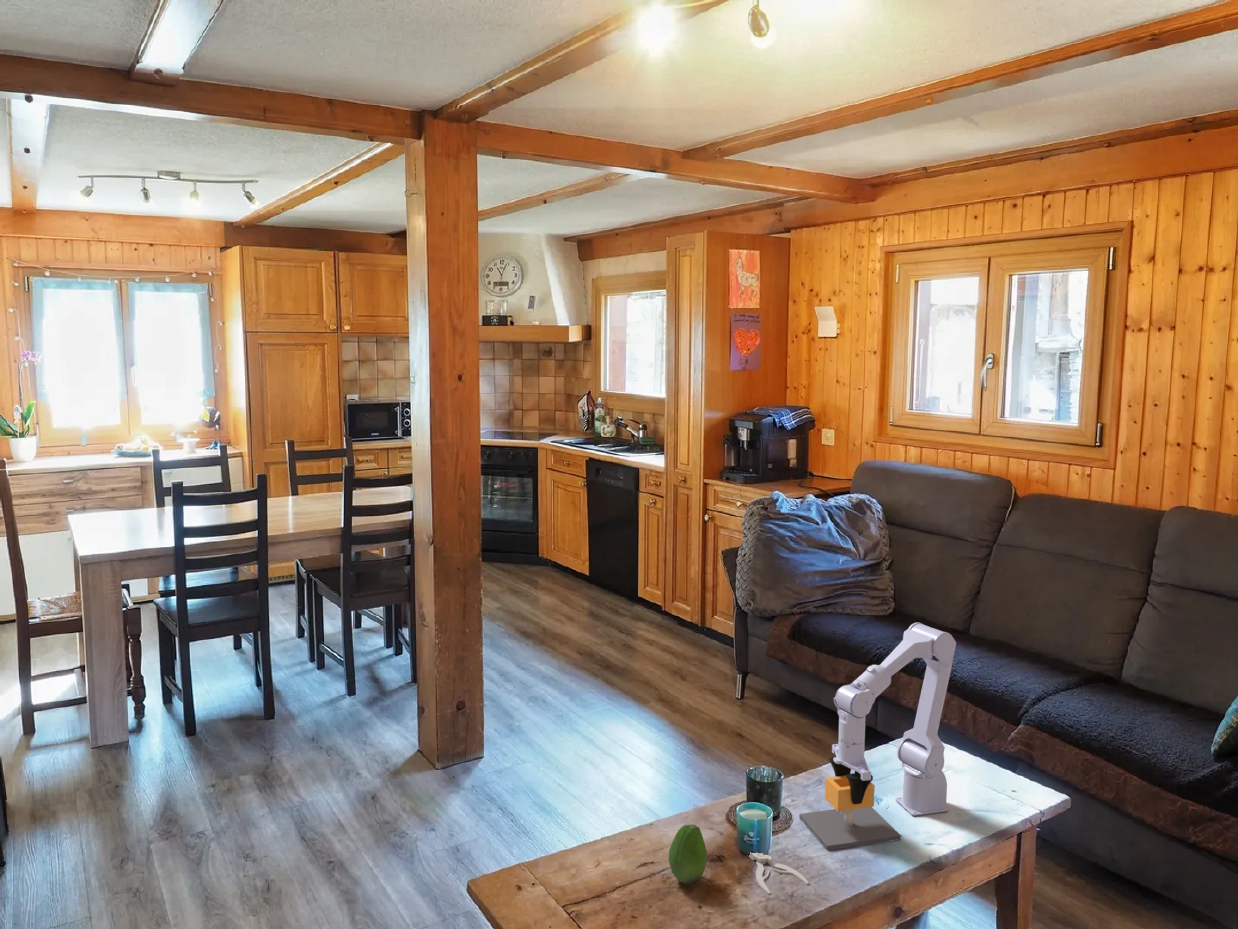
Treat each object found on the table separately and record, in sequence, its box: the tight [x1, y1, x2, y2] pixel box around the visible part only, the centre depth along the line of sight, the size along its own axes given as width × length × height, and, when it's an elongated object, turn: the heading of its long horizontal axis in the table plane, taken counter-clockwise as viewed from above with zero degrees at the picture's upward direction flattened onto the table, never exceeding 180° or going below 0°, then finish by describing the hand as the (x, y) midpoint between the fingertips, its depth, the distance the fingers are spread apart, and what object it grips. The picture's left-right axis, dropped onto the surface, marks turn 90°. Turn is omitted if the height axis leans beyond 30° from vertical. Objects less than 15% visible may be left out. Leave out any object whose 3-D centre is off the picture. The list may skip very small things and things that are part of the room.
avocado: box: [668, 824, 708, 884], centre depth 183 cm, size 8×8×12 cm
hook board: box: [799, 807, 902, 851], centre depth 203 cm, size 18×14×6 cm
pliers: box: [748, 852, 810, 895], centre depth 187 cm, size 10×2×15 cm
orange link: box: [824, 775, 876, 811], centre depth 202 cm, size 9×6×5 cm, turn 104°
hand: (849, 796), depth 202 cm, fingers closed on orange link, 6 cm apart
